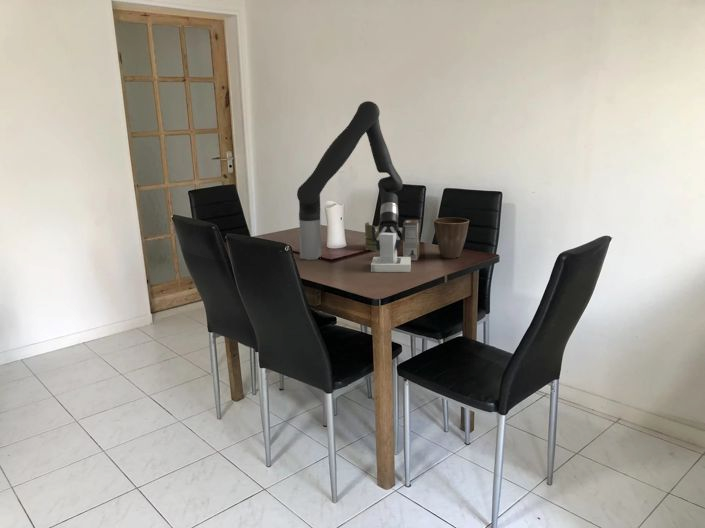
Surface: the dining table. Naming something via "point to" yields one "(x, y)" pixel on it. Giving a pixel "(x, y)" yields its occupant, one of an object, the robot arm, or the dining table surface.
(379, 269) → the white rectangular tray
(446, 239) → the plant pot
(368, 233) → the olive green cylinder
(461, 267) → the dining table surface
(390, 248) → the skincare box
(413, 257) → the coffee box
